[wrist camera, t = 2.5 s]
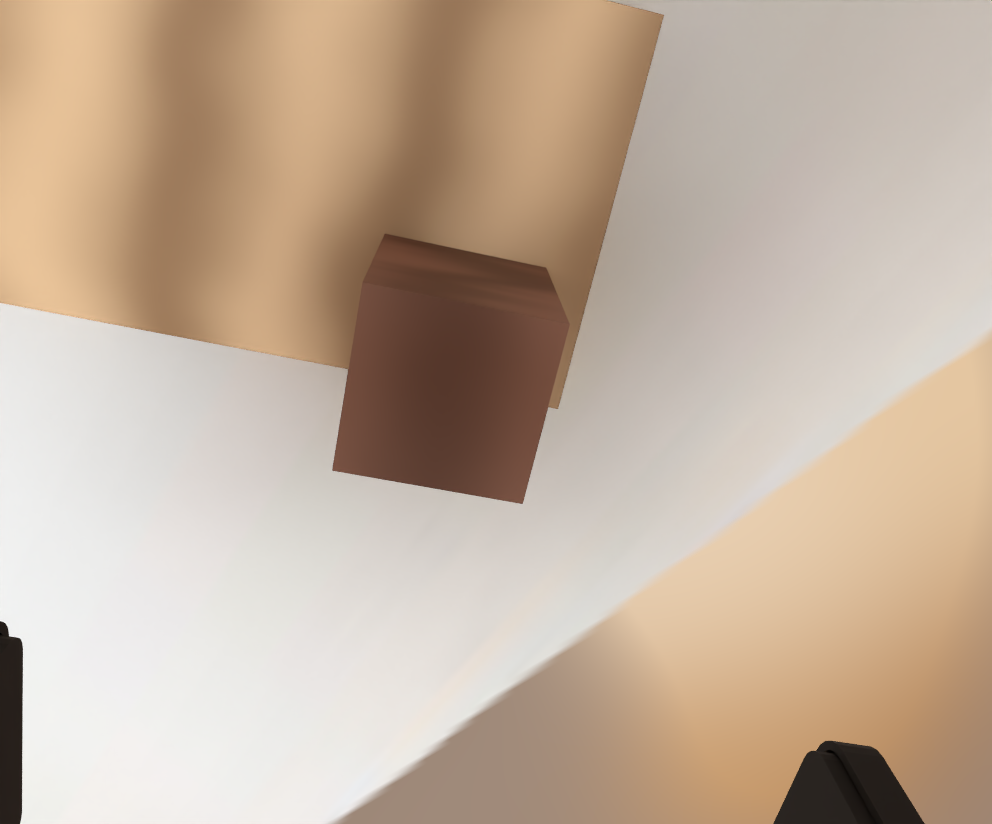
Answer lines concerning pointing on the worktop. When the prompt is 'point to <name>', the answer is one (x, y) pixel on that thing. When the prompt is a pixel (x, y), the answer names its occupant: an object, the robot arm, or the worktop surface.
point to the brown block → (450, 370)
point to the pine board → (303, 154)
